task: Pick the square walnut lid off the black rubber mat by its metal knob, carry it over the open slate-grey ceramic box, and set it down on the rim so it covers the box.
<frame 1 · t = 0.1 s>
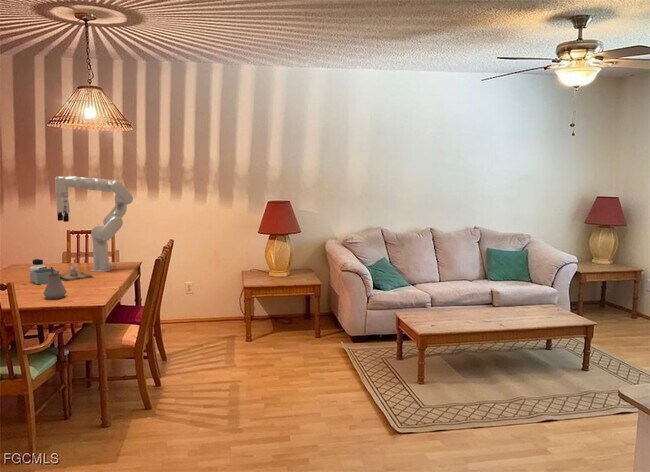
hand: (63, 221, 352), 37 cm above the table, tool pointing down, fingers open, 9 cm apart
grey ceramic box: (45, 281, 336), on the table
walnut lid: (74, 271, 348), on the rubber mat
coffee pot: (54, 295, 301), on the table
rubber mat: (74, 277, 349), on the table
medicine bottle: (38, 277, 350), on the table
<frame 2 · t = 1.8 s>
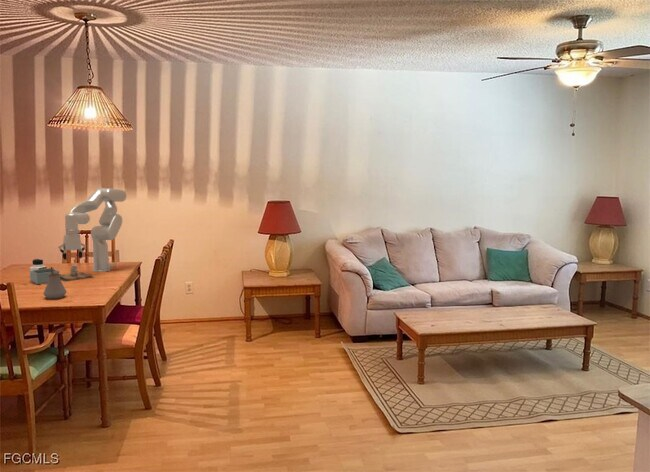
hand: (72, 258, 346), 13 cm above the table, tool pointing down, fingers open, 9 cm apart
nothing on the table moved.
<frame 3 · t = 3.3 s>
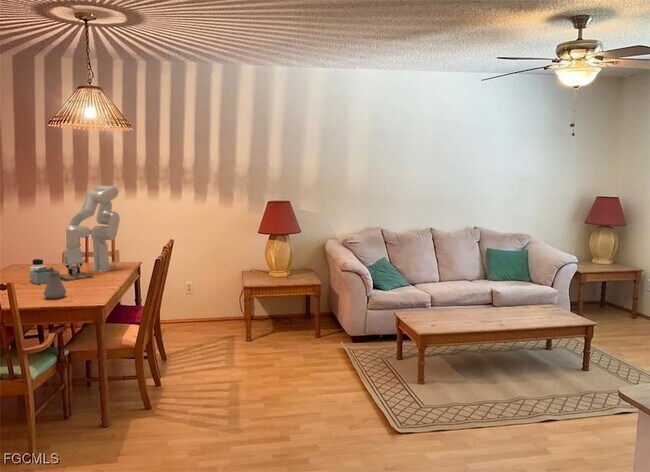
hand: (74, 273, 348), 3 cm above the table, tool pointing down, fingers closed on walnut lid, 4 cm apart
walnut lid: (74, 271, 348), on the rubber mat, touching gripper
everything else where it was.
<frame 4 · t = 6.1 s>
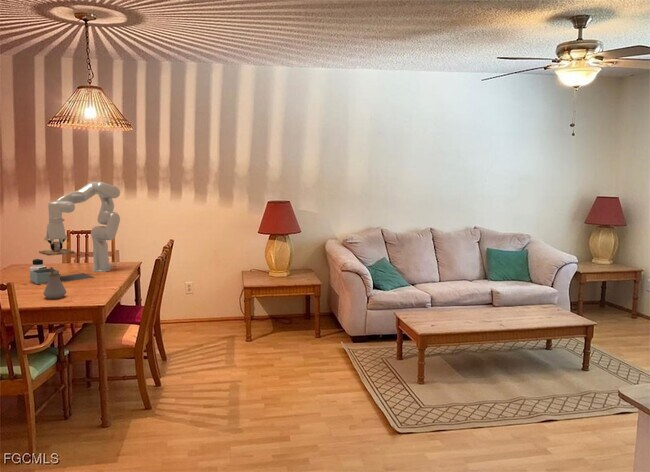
hand: (56, 249, 339), 20 cm above the table, tool pointing down, fingers closed on walnut lid, 4 cm apart
walnut lid: (56, 247, 339), point 21 cm above the table, touching gripper
everything else where it was.
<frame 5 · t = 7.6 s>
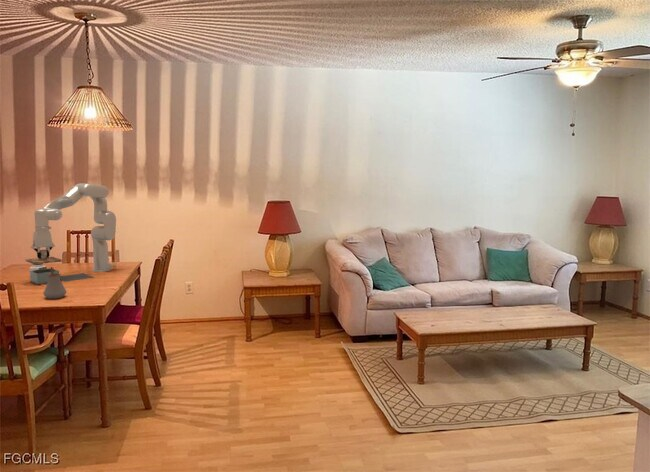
hand: (43, 257, 334), 15 cm above the table, tool pointing down, fingers closed on walnut lid, 4 cm apart
walnut lid: (43, 255, 334), point 17 cm above the table, touching gripper
everything else where it was.
when the fingers open (11 cm above the table, at t = 8.7 s): walnut lid drops 1 cm, resting on grey ceramic box.
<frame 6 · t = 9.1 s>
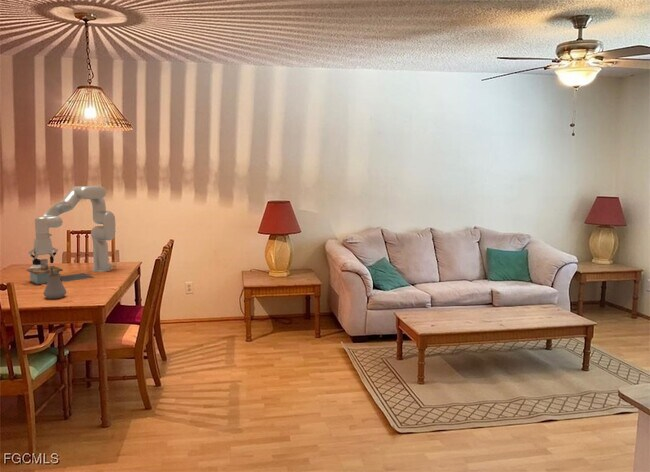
hand: (44, 263, 334), 12 cm above the table, tool pointing down, fingers open, 8 cm apart
walnut lid: (44, 265, 335), on the grey ceramic box, point 11 cm above the table
everything else where it was.
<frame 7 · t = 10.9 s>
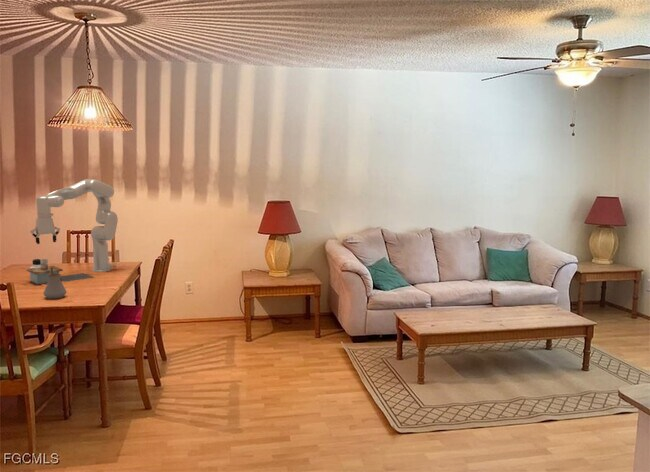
hand: (46, 242, 336), 24 cm above the table, tool pointing down, fingers open, 9 cm apart
nothing on the table moved.
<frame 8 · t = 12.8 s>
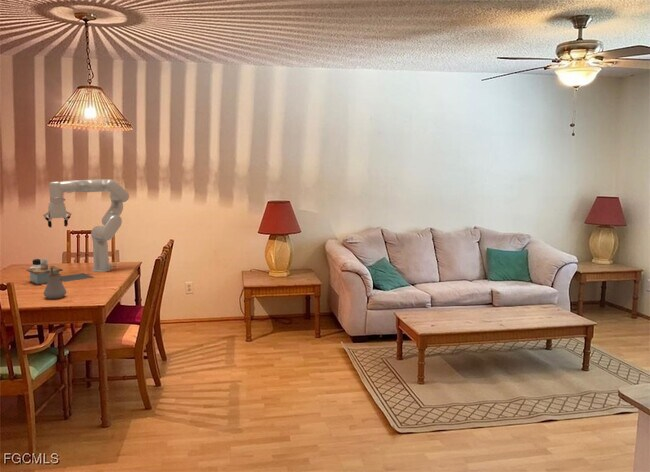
hand: (58, 226, 348), 33 cm above the table, tool pointing down, fingers open, 9 cm apart
nothing on the table moved.
at the end: walnut lid 0.1 cm off-centre on the grey ceramic box, point 10.6 cm above the grey ceramic box's base; walnut lid tilted 0°; the gripper is holding nothing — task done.
